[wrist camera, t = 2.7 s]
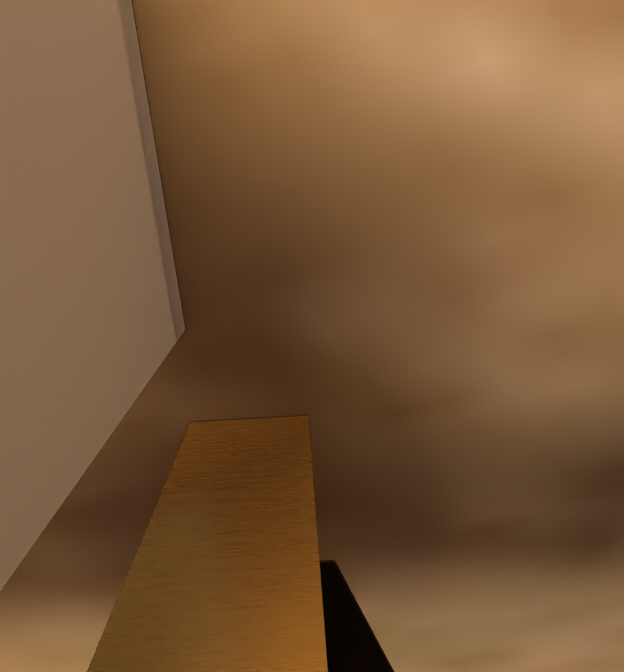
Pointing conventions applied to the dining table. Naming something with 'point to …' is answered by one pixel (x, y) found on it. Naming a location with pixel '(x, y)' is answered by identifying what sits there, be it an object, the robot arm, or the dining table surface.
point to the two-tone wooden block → (226, 560)
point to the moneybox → (74, 251)
